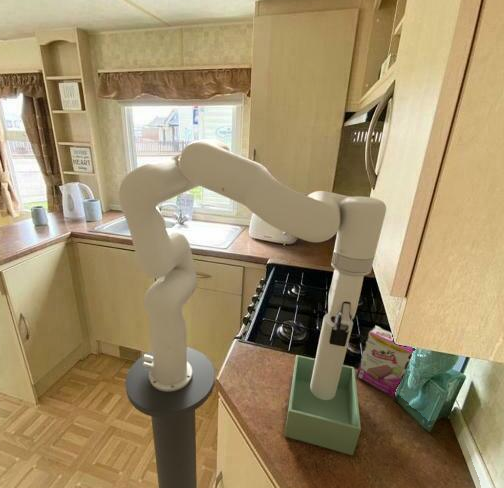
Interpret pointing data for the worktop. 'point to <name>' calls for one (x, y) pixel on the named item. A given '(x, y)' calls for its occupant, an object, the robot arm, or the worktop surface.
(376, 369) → the candy bar box
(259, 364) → the worktop surface
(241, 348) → the worktop surface
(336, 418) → the bin
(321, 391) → the paper towel roll
